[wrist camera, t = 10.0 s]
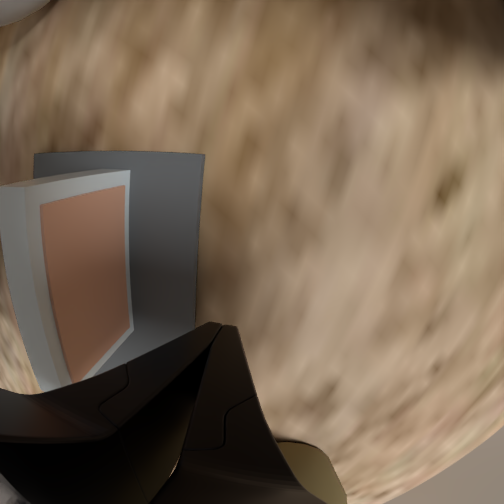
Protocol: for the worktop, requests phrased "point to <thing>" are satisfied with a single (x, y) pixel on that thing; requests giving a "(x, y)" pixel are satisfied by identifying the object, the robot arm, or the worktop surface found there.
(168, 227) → the mat
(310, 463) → the squeeze bottle
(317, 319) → the worktop surface
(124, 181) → the tile
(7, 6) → the donut
